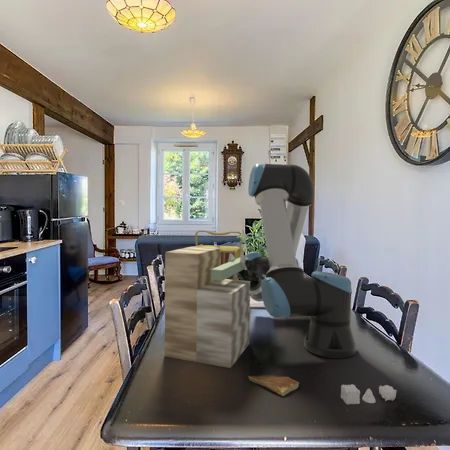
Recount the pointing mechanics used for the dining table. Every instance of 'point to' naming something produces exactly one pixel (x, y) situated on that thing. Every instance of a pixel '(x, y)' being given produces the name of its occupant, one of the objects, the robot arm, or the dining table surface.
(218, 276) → the green block
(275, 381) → the shard
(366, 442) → the dining table surface
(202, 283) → the stand
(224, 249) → the picnic basket
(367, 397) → the game pieces
